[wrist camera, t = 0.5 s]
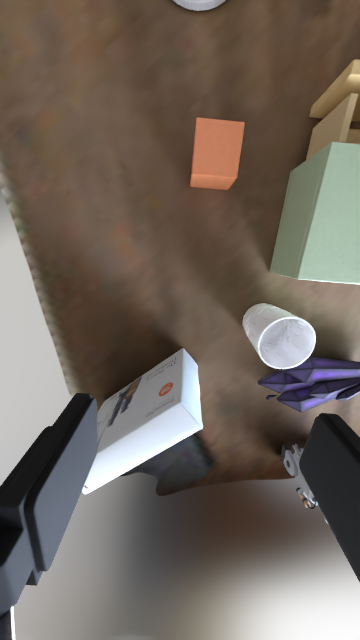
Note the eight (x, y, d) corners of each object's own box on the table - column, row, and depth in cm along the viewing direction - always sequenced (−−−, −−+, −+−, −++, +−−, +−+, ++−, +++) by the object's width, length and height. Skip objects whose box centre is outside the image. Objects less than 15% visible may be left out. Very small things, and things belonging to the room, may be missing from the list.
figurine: (327, 423, 46) (393, 501, 31) (316, 462, 49) (372, 548, 35) (284, 423, 46) (331, 501, 32) (277, 462, 49) (316, 548, 35)
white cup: (287, 330, 39) (322, 356, 30) (247, 346, 40) (267, 377, 31) (275, 292, 37) (308, 307, 27) (232, 310, 38) (250, 330, 28)
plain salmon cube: (193, 141, 30) (196, 117, 25) (233, 144, 30) (245, 121, 25) (190, 186, 32) (191, 173, 26) (227, 190, 32) (236, 178, 27)
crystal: (396, 361, 34) (275, 375, 33) (374, 413, 39) (267, 427, 38) (358, 339, 40) (256, 351, 39) (343, 386, 45) (252, 397, 44)
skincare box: (181, 344, 40) (181, 401, 25) (198, 364, 41) (207, 430, 26) (101, 399, 44) (59, 477, 29) (118, 416, 46) (87, 499, 30)
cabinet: (290, 171, 31) (332, 141, 22) (374, 179, 31) (447, 152, 23) (269, 272, 36) (297, 279, 27) (342, 278, 36) (393, 287, 27)
